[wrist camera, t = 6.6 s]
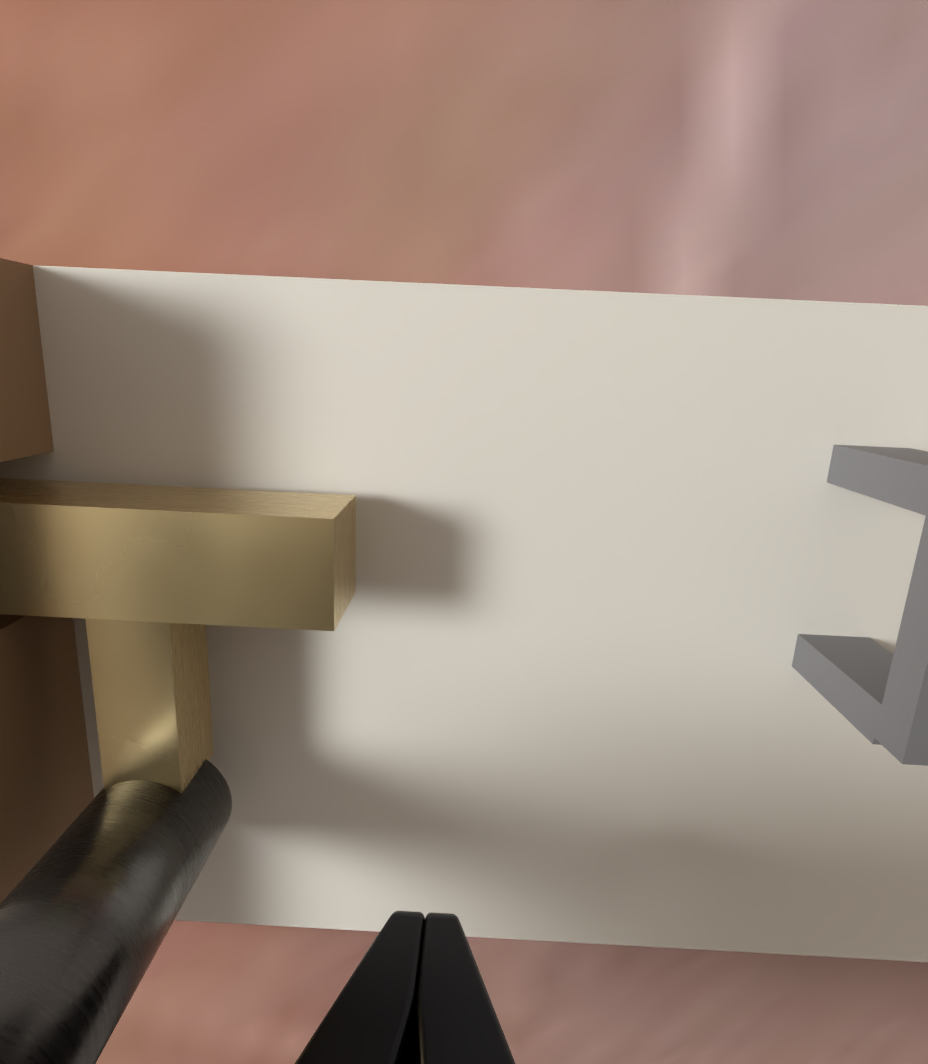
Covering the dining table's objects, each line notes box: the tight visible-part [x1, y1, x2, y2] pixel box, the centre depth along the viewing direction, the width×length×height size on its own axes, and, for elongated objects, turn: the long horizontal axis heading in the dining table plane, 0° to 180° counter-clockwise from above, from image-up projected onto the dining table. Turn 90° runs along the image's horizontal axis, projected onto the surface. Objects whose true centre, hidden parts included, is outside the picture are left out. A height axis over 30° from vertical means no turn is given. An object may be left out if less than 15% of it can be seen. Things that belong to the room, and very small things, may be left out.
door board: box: [0, 258, 928, 962], centre depth 10 cm, size 12×24×6 cm, turn 87°
